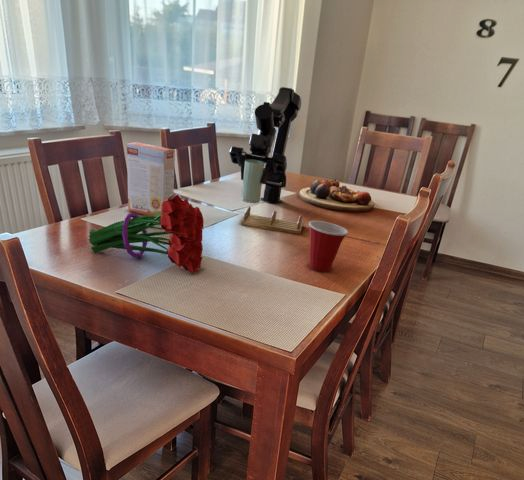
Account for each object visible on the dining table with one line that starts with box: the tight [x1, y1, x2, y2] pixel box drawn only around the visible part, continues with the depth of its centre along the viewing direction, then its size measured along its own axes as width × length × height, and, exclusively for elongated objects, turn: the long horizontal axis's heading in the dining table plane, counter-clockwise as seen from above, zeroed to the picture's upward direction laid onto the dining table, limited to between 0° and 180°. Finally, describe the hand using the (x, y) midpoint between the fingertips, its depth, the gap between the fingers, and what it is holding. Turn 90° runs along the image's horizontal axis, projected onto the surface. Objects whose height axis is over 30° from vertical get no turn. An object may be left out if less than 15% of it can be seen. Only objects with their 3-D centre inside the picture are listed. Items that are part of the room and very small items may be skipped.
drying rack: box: [240, 206, 304, 235], centre depth 162 cm, size 10×20×4 cm, turn 82°
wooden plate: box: [298, 178, 375, 213], centre depth 201 cm, size 32×32×8 cm
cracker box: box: [126, 141, 176, 216], centre depth 151 cm, size 14×6×21 cm, turn 65°
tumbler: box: [240, 159, 265, 204], centre depth 157 cm, size 6×6×12 cm
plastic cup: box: [308, 220, 349, 273], centre depth 131 cm, size 11×11×12 cm
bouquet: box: [88, 194, 205, 275], centre depth 120 cm, size 20×16×30 cm
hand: (251, 181), depth 156 cm, fingers closed on tumbler, 6 cm apart
